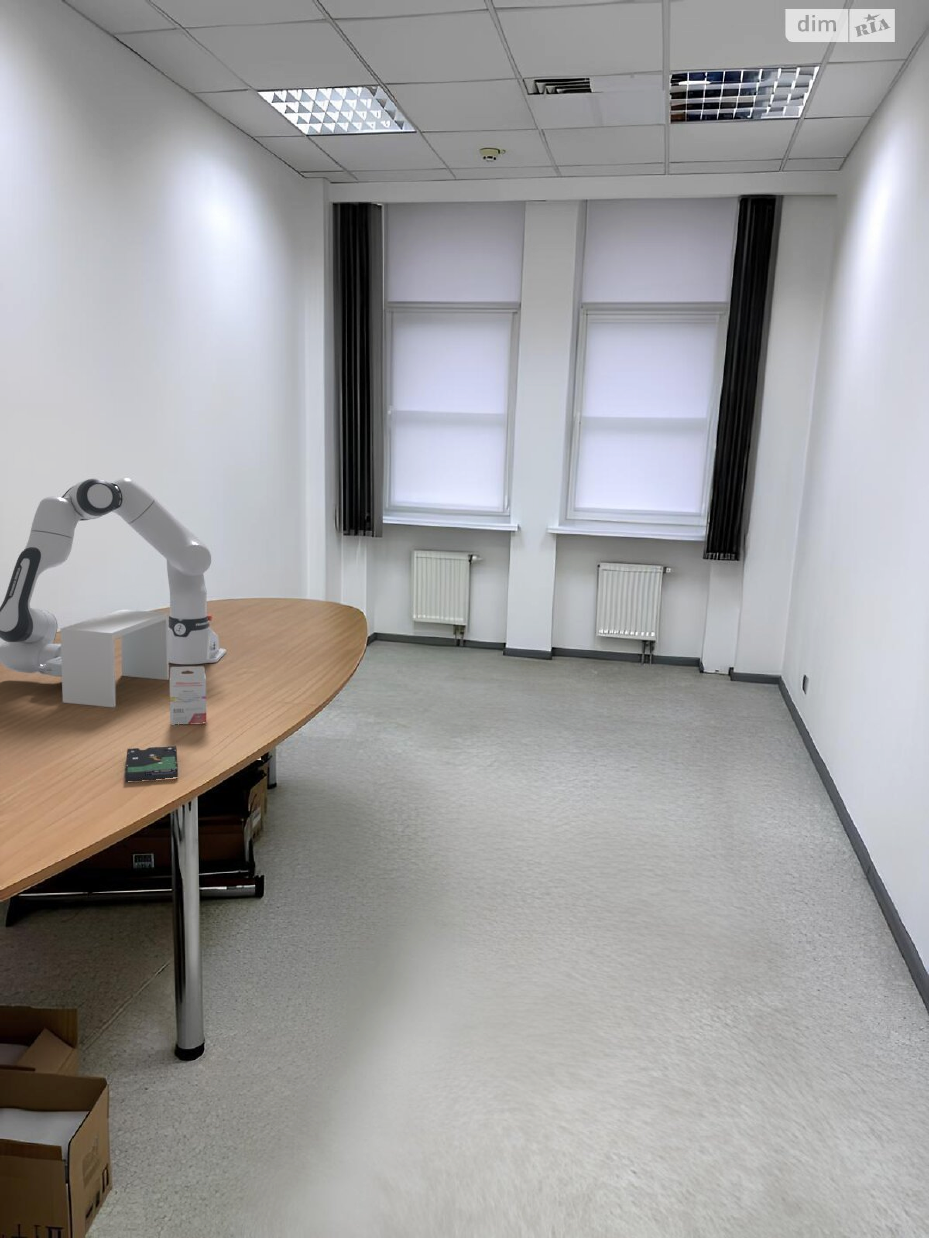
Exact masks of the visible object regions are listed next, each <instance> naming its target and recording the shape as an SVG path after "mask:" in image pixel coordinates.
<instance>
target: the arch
mask: <svg viewBox="0 0 929 1238" xmlns="http://www.w3.org/2000/svg"><path fill="white" fill-rule="evenodd" d="M168 620H169V612H160V611H149V610H148V611H147V610H146V611H145V610H137V609H136V610H135V609H125V608H124V609H123V608H122V609H120V610H119V609H118V610H116V611H113V612H110V613H106V614H104V615H99V616H96V617H94V618H91V619H87V620H83V621H81V622H77V623H74V624H70V625H68V626H67V625H66V626H65V627H61V628H60V644H61V663H62V677H61V686H62V687H61V688H62V689H61V690H62V703H65V704H74V705H83V706H84V705H87V706H94V707H95V706H96V707H105V708H106V707H107V708H115V707H116V704H117V703H116V668H115V667H116V663H115V662H116V661H115V659H116V658H115V657H116V656H115V654H116V653H115V639H116V638H120V640H121V641H120V646H121V647H120V650H121V652H120V653H121V677H122V676H123V677H131V678H142V679H143V678H144V679H152V680H153V679H154V680H164V681H168V680H170V674H169V673H170V665H169V664H170V663H169V640H168V630H169V623H168Z"/></svg>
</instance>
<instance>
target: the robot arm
mask: <svg viewBox="0 0 929 1238" xmlns="http://www.w3.org/2000/svg"><path fill="white" fill-rule="evenodd" d="M109 513H115V514H116V515H118V516H120V517H121V518H122V519H123V521H124V522H126V523H127V524H128V525H129V526H130V527H131V528H132V529H133V530H134V531H135V532H136V533H138V535H140V537H141V538H142V539H143V540H145V542H147V543H148V544H149V545H150V546H151V547H152V548H154V549H155V550H156V551H157V552H158V553H160V555H161V556H163V558H165V559H166V569H167V571H166V573H167V579H168V587H169V615H168V640H169V664H174V665H200V664H201V665H202V664H208V663H210V664H211V663H218V661H219V660H220V659H221V658H222V657H224V655H226V653H227V650H226V649H225V648H221V647H220V646H219V645H220V643H219V635H218V634H216V632H214V630H213V629H212V628H211V627H210V622H211V621H212V620H213V615H212V614H207V613H208V612H207V607H208V606H207V602H208V601H207V594H208V593H207V588H206V582H205V576H204V574H205V573H206V572H207V571H208V570H209V568H210V567H211V564H212V554H211V551H210V549H209V548H208V547H207V546H206V544H205V543H203V541H201V539H199V537H197V536H196V535H195V534H194V533H193V532H191V531H190V530H189V529H188V528H187V527H186V526H185V525H184V524H183V523H181V522H180V521H179V520H178V519H177V518H176V517H175V516H174V515H173V514H172V513H171V512H170V511H169V510H167V508H166V507H164V506H163V505H162V503H160V502H159V500H158V499H157V498H155V497H154V496H153V495H152V494H151V493H150V492H149V491H148V490H146V489H145V488H143V486H141V485H140V484H139V483H137V482H136V481H134V480H132V479H131V478H128V477H123V478H119V479H116V480H115V481H113V482H111V481H107V480H105V479H100V478H88V479H86V480H85V479H84V480H82V481H79V482H77V483H76V484H75V485H72V486H71V487H70V488H69V489H68V490H66V491H65V493H64V494H63V495H62V496H56V495H55V496H52V495H51V496H46V497H44V498H43V499H41V501H40V502H39V503H38V506H37V507H36V511H35V513H34V516H33V521H32V523H31V527H30V533H29V537H28V541H27V543H26V546H25V547H24V550H22V551H21V552H20V554H19V555H18V558H17V560H16V563H15V565H14V568H13V571H12V574H11V578H10V581H9V583H8V584H9V585H8V587H7V590H6V593H5V595H4V596H5V597H4V600H3V601H2V604H1V606H0V639H1V640H2V641H4V642H2V643H1V645H0V663H1V665H2V666H3V667H4V668H6V669H8V670H10V671H13V672H17V673H25V674H36V673H38V674H40V675H43V676H44V675H45V676H51V677H56V678H57V677H58V678H59V677H60V678H62V663H61V643H55V639H56V637H57V632H58V622H57V621H58V620H57V618H56V617H55V615H54V614H53V613H51V612H50V611H49V610H48V611H47V610H43V609H39V608H32V607H31V605H30V603H31V600H32V597H33V593H34V591H35V587H36V584H37V580H38V578H39V577H40V575H41V574H42V573H44V572H45V571H47V570H49V569H52V568H56V567H58V566H60V565H62V564H63V563H65V562H66V561H68V559H69V557H70V555H71V551H72V548H73V544H74V543H73V542H74V537H75V529H76V527H77V524H78V523H79V522H80V521H89V520H96V519H99V518H101V517H102V516H105V515H108V514H109Z"/></svg>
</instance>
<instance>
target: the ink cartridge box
mask: <svg viewBox="0 0 929 1238" xmlns="http://www.w3.org/2000/svg"><path fill="white" fill-rule="evenodd" d="M187 671H189V672H192V673H182V672H187ZM205 671H206V668H205V666H171V667H169V673H170V674H169V712H170V713H169V717H170V720H169V721H170V725H171V726H176V725H175V724H178V725H177V726H180V725H179V724H190V725H192V724H191V723H203V722H206V723H207V677H206V675H207V674H206V672H205Z"/></svg>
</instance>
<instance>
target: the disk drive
mask: <svg viewBox="0 0 929 1238" xmlns="http://www.w3.org/2000/svg"><path fill="white" fill-rule="evenodd" d="M177 754H178V750H177V746H176V745H173V746H157V747H156V746H152V747H148V748H146V749H139V748H138V747H137V748H136V747H135V748H127V749H126V761H125V769H124V780H125V783H126V782H128V781H142V780H156V779H165V778H173V777H178V778H179V765H178V755H177Z"/></svg>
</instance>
